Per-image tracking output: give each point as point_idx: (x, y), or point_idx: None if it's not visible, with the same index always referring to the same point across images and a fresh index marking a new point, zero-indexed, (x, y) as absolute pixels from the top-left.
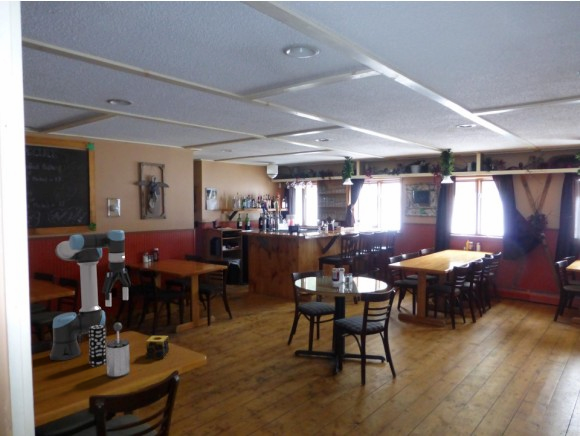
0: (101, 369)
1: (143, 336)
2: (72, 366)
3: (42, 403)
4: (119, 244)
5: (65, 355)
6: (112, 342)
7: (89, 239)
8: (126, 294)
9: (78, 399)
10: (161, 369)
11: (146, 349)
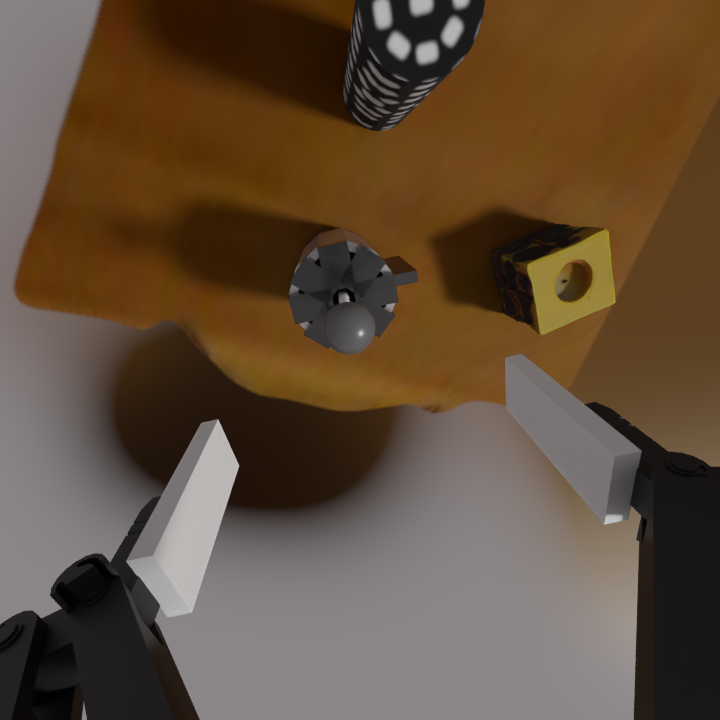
0: (338, 169)
1: None
2: None
3: (39, 229)
4: None
5: None
6: (332, 271)
7: None
8: (539, 438)
9: (139, 312)
10: (425, 368)
11: (508, 259)
